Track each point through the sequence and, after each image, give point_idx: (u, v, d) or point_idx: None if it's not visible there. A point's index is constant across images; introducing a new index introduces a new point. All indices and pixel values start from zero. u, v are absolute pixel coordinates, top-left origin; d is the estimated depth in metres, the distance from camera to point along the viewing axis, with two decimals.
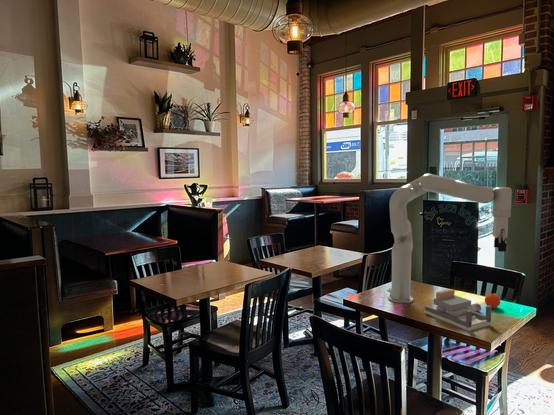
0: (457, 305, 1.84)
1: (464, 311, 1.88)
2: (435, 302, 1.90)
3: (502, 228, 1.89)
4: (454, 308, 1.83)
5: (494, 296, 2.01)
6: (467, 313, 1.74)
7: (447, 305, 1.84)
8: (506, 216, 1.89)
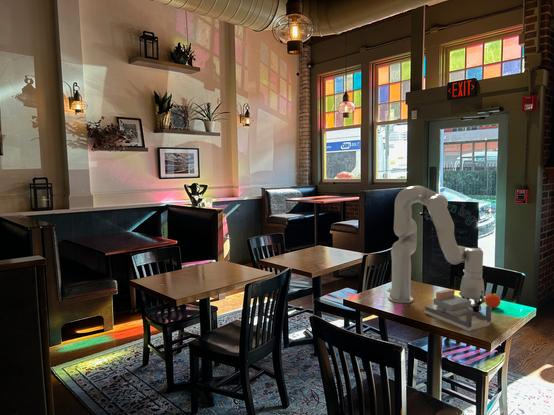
0: (457, 305, 1.84)
1: (464, 311, 1.88)
2: (435, 302, 1.90)
3: (481, 290, 1.90)
4: (454, 308, 1.83)
5: (494, 296, 2.01)
6: (467, 313, 1.74)
7: (447, 305, 1.84)
8: (481, 277, 1.92)
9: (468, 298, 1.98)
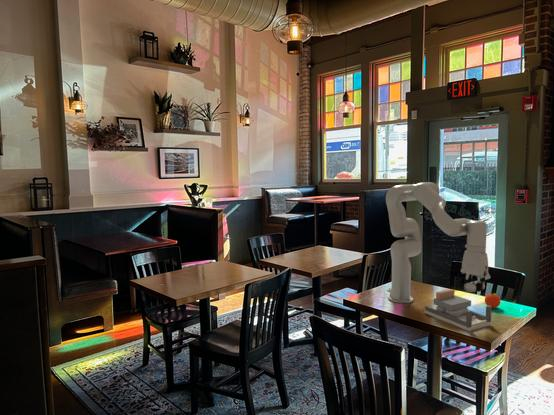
0: (457, 305, 1.84)
1: (464, 311, 1.88)
2: (435, 302, 1.90)
3: (485, 265, 1.76)
4: (454, 308, 1.83)
5: (494, 296, 2.01)
6: (467, 313, 1.74)
7: (447, 305, 1.84)
8: (485, 252, 1.77)
9: (470, 275, 1.84)
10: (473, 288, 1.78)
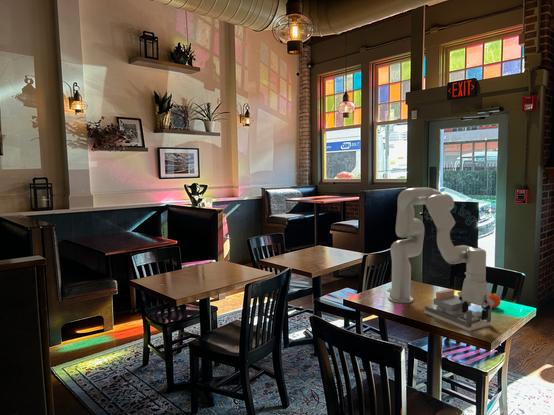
0: (457, 305, 1.84)
1: None
2: (435, 302, 1.90)
3: (485, 294, 1.74)
4: (454, 308, 1.83)
5: (494, 296, 2.01)
6: (467, 313, 1.74)
7: (447, 305, 1.84)
8: None
9: None
10: None
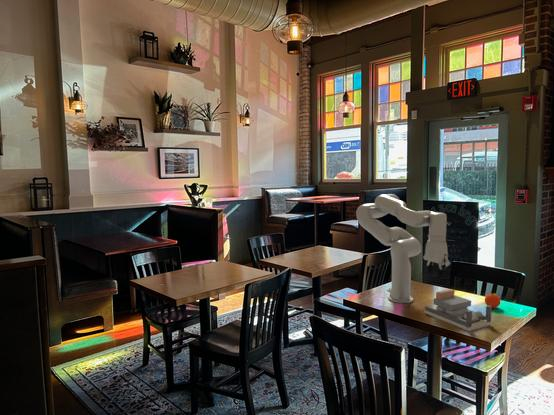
0: (457, 305, 1.84)
1: (464, 311, 1.88)
2: (435, 302, 1.90)
3: (445, 253, 1.92)
4: (454, 308, 1.83)
5: (494, 296, 2.01)
6: (467, 313, 1.74)
7: (447, 305, 1.84)
8: (445, 241, 1.93)
9: (432, 262, 2.00)
10: None
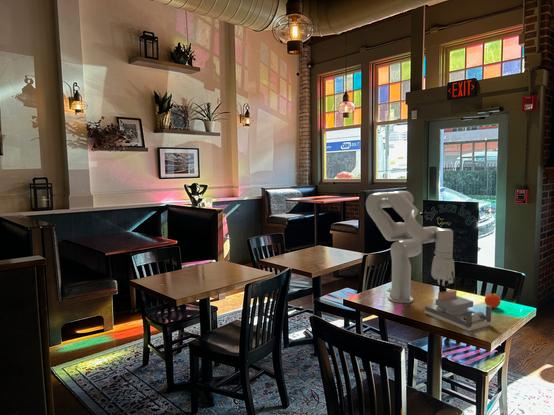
0: (459, 306, 1.83)
1: (464, 311, 1.88)
2: (437, 303, 1.89)
3: (452, 270, 1.89)
4: (456, 309, 1.82)
5: (494, 296, 2.01)
6: (467, 313, 1.74)
7: (450, 305, 1.83)
8: None
9: (442, 280, 1.95)
10: (472, 322, 1.77)
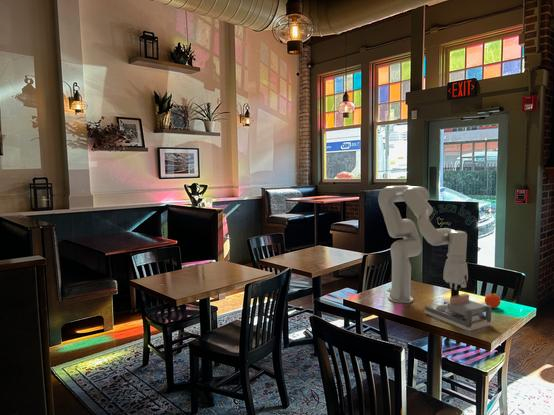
0: (473, 311, 1.77)
1: None
2: (449, 307, 1.83)
3: (465, 274, 1.83)
4: None
5: (494, 296, 2.01)
6: (467, 313, 1.74)
7: (463, 310, 1.77)
8: (465, 261, 1.84)
9: (454, 284, 1.89)
10: (472, 321, 1.77)
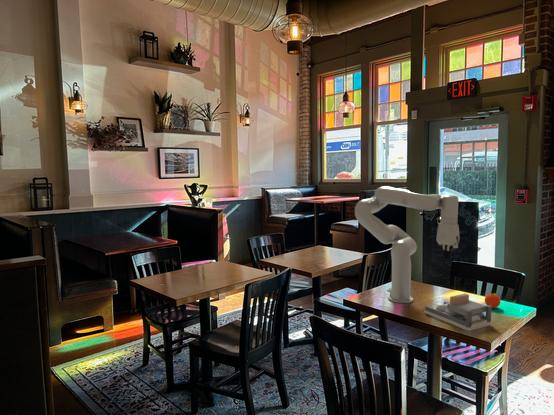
0: (473, 311, 1.77)
1: None
2: (449, 307, 1.83)
3: (456, 235, 1.94)
4: None
5: (494, 296, 2.01)
6: (467, 313, 1.74)
7: (462, 310, 1.77)
8: None
9: (447, 246, 2.00)
10: (472, 322, 1.77)
